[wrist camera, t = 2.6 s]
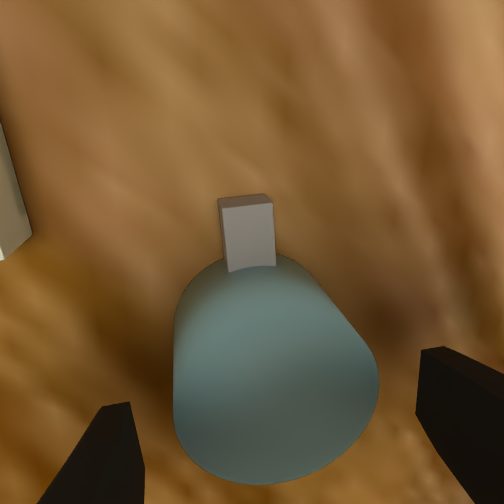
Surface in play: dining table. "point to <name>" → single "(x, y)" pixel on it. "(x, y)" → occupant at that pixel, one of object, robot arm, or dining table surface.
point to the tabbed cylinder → (265, 361)
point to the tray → (10, 205)
